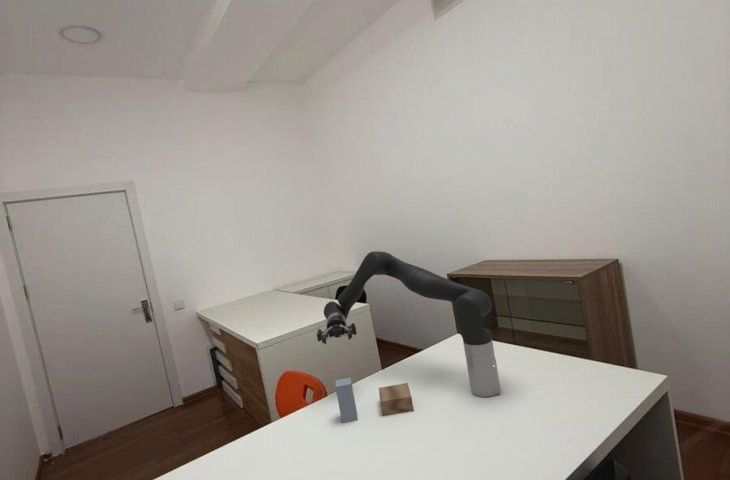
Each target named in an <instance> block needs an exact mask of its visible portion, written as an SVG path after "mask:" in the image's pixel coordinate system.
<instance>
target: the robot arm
mask: <svg viewBox="0 0 730 480" xmlns="http://www.w3.org/2000/svg"><path fill="white" fill-rule="evenodd" d="M365 255H366V256H364V258H363V260H362V262H361V263H360V265H359V267H358V269H357V271H356V272H355V274H354V276H353V277H352V279H351V281H350V282H349V283H348V285H347V286H346V287H345V288H344V289H343V291H341V293H340V294H339V296H338V297H337V302H338V303H337V302H335V301H332V300H331V301H329V302H327V303H326V304H325V306H324V309H323V315H324V317H325V319H326V329H324V330H322V329H321V328H319V329H317V332H316V338H317V342H321V343H322V344H324V345H326V344H327V341H328V340H331V339H333V338H335V339H337V338H342V337H345V338H346V337H348V340H351V339H352V338H353V336H356V335H358V331H357V327H356V324H355V323H353V322H352V323H351V324H350V325H349V326H348V325H347V321H346V320H347V319H348V316H349V313H350V311H351V309H352V308H353V306H354V305H355V304H356V302H357V301H358V300H360V298H361V297H362V294H363V291H364V287H365V285H366V283H367V282H368V281H369V280H370V279H371V278H372V277H373V276H388V277H391V278H393V279H396V280H397V281H400V282H401V283H402V284H403V285H404V287H406V288H407V290H409V291H411V292H413V293H414V294H417V295H419V296H421V297H423V298H427V299H432V300H440V301H447V302H451V303H454V314H455V319H456V323H457V328H458V331H459V334H460V336H461V338H462V342H463V347H464V348H463V349H464V353H465V355H464V356H465V361H466V367H467V374H468V380H469V386H470V392H471V394H473V395H474V396H476V397H479V398H490V397H493V396H496V395H497V396H498V395H501V384H500V378H499V377H500V376H499V371H498V370H499V369H498V365H497V359H496V356H495V349H494V348H495V347H494V342H493V336H492V332H491V330H490V329H488V328H485V327H484V323H483V318H484V317H486V316H487V315H488V314H490V312H491V310H492V308H493V302H492V300H491V298H490V297H489V295H488V294H487V293H486V292H484V291H482V290H480V289H478V288H474V287H471V286H468V285H464V284H460V283H457V282H455V281H453V280H450V279H448V278H446V277H443V276H441V275H439V274H436V273H433V272H432V271H429V270H427V269H426V268H423V267H420V266H417V265H413V264H411V263H408V262H405V261H403V260H402V259H400V258H397V257H396V256H394V255H392V254H391V253H389V252H385V251H377V250H375V251H374V250H373V251H370V252H368V253H367V254H365Z"/></svg>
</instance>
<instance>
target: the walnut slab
mask: <svg viewBox="0 0 730 480" xmlns="http://www.w3.org/2000/svg"><path fill="white" fill-rule="evenodd" d="M378 394H379V402H380V408H381V413H382V415H381V416H382V417H385V416H386V417H387V416H391V415H396V414H402V413H403V414H404V413H408V412H415V410H414V405H413V399H412V398H413V397H412V393H411V390H410V387H409V384H408V382H405V383H399V384H393V385H387V386H382V387H378Z"/></svg>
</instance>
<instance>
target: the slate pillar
mask: <svg viewBox="0 0 730 480" xmlns="http://www.w3.org/2000/svg"><path fill="white" fill-rule="evenodd" d="M334 386H335V391H336V397H337V402H338V408H339V413H340V418H341V423H342V424H345V423H349V422H354V421H358V410H357V405H356V399H355V394H354V388H353V383H352V377H347V378H340V379H335V385H334Z"/></svg>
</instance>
